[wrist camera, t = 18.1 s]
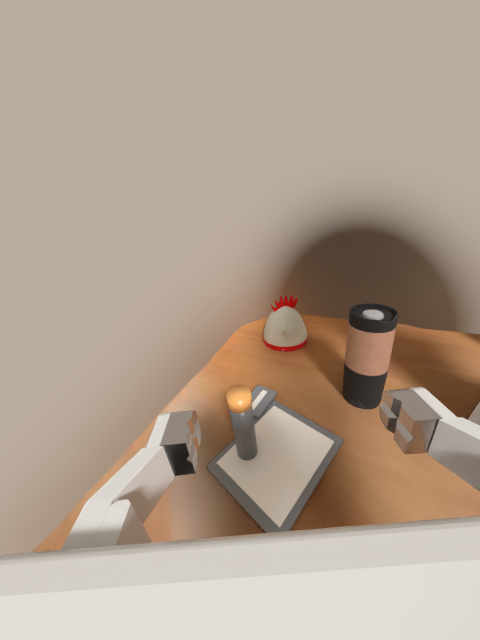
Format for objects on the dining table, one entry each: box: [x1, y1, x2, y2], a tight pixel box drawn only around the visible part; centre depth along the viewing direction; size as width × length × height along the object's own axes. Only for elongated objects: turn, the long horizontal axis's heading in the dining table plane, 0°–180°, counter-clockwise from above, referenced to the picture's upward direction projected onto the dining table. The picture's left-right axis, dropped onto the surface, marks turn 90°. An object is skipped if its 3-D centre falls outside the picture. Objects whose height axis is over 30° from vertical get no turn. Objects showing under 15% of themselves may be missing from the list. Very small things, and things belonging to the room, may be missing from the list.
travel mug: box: [343, 303, 398, 409], centre depth 44 cm, size 8×8×20 cm
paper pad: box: [206, 400, 344, 533], centre depth 39 cm, size 19×15×1 cm
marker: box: [226, 385, 258, 461], centre depth 37 cm, size 4×4×13 cm
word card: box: [251, 385, 277, 419], centre depth 50 cm, size 8×5×1 cm, turn 145°
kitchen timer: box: [263, 295, 307, 351], centre depth 70 cm, size 14×14×15 cm
